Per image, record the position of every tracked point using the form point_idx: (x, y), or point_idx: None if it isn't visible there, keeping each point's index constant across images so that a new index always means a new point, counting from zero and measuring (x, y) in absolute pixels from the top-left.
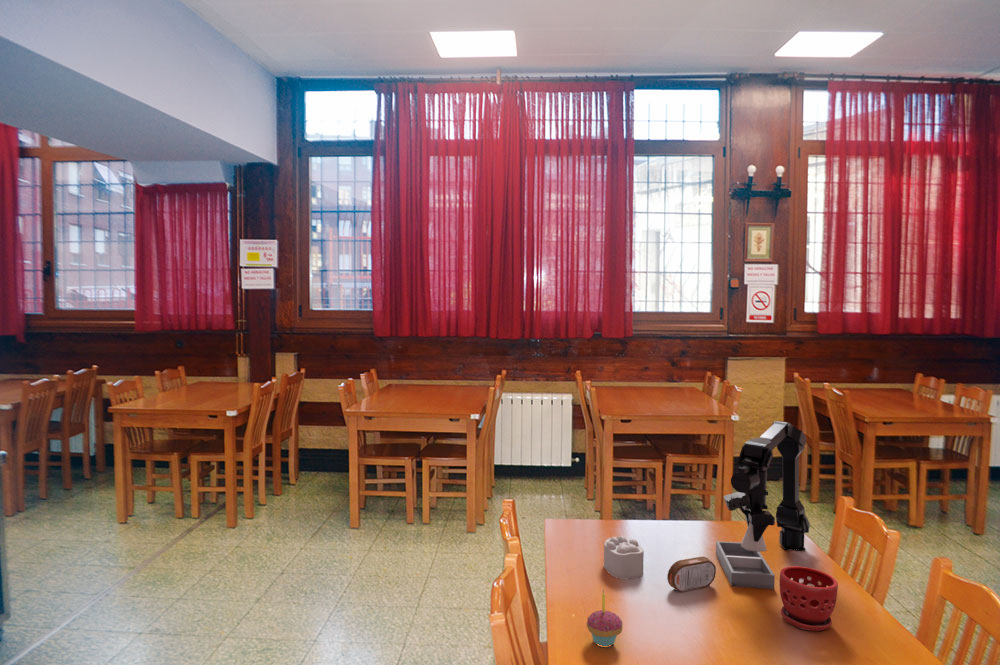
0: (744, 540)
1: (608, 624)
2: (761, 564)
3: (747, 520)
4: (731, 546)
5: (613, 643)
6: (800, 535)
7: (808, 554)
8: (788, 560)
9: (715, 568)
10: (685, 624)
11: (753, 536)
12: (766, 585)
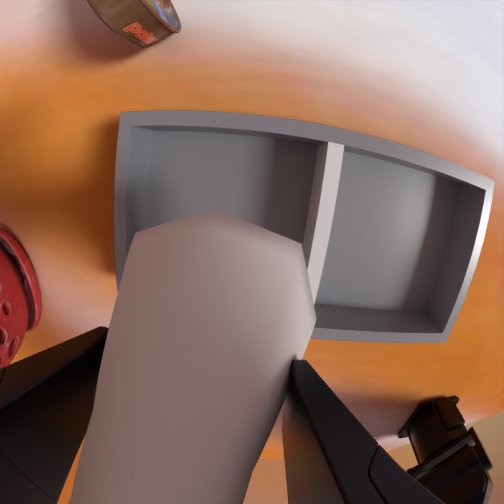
0: (180, 254)
1: None
2: None
3: (335, 490)
4: (463, 242)
5: None
6: (418, 456)
7: (381, 436)
8: (364, 398)
9: (121, 34)
10: (12, 18)
11: (77, 346)
12: None
